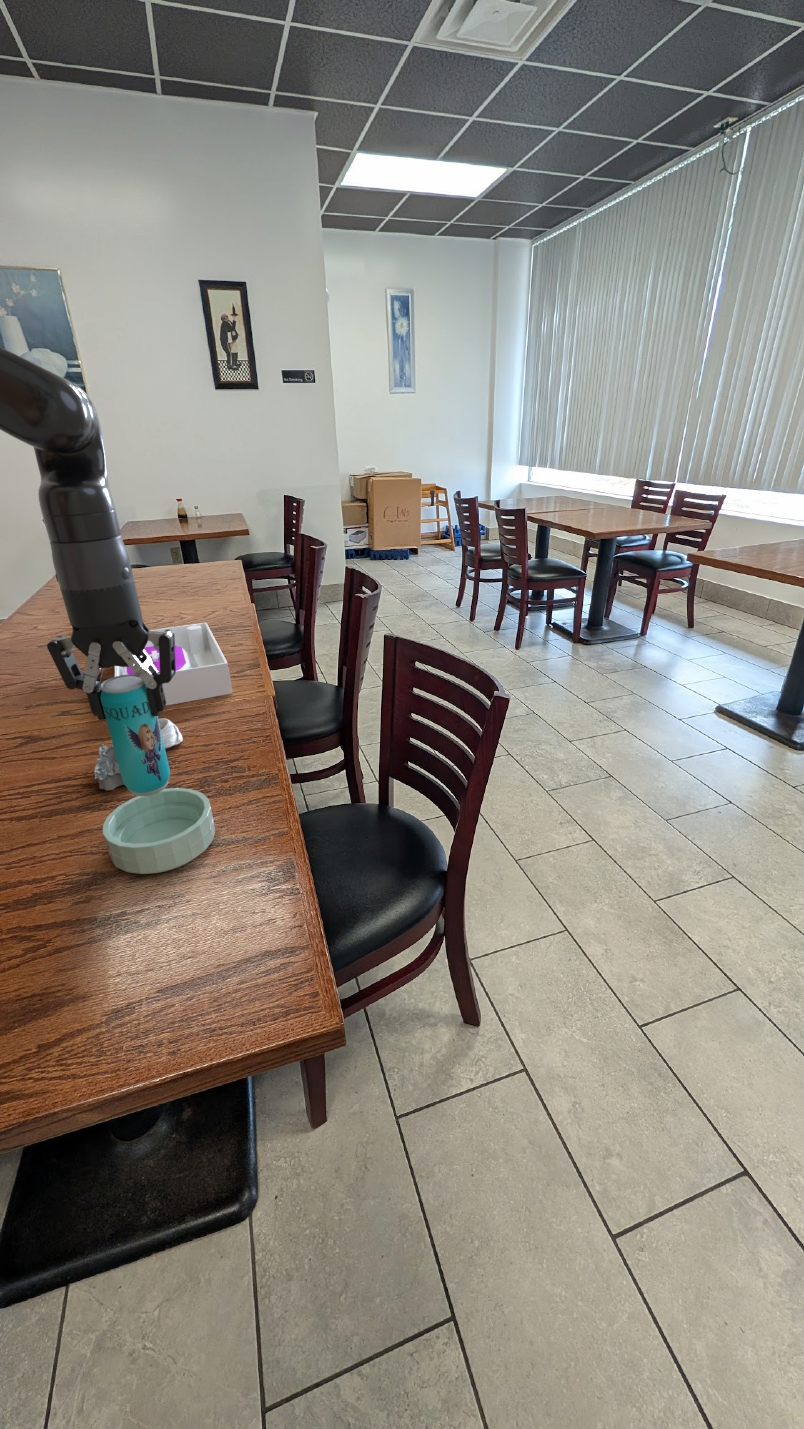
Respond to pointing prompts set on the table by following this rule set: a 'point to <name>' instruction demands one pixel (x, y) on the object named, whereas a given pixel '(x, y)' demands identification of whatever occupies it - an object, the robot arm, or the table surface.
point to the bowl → (159, 831)
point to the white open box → (192, 665)
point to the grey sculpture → (108, 768)
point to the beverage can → (135, 735)
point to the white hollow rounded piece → (169, 733)
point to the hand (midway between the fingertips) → (131, 715)
